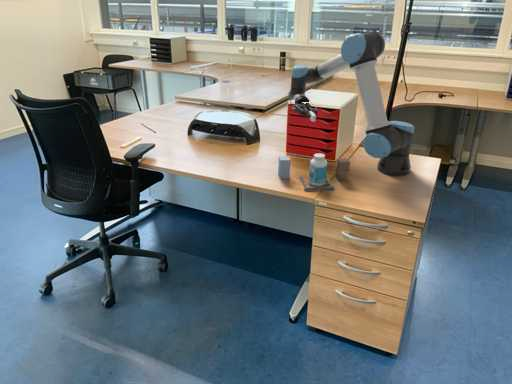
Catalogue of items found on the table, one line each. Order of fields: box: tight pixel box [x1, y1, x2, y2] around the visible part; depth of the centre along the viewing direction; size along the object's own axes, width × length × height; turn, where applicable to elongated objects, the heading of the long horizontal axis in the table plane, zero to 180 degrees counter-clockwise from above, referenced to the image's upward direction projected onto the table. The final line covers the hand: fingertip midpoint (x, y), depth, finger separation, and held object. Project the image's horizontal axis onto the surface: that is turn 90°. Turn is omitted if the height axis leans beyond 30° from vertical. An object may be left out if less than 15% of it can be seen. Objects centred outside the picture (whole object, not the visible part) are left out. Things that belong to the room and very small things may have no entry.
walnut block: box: [334, 157, 351, 182], centre depth 190 cm, size 4×4×9 cm
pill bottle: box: [308, 152, 328, 187], centre depth 184 cm, size 8×7×14 cm
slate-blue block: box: [277, 155, 292, 180], centre depth 191 cm, size 4×4×9 cm
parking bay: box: [299, 175, 336, 192], centre depth 187 cm, size 13×13×1 cm
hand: (314, 118), depth 189 cm, fingers closed
